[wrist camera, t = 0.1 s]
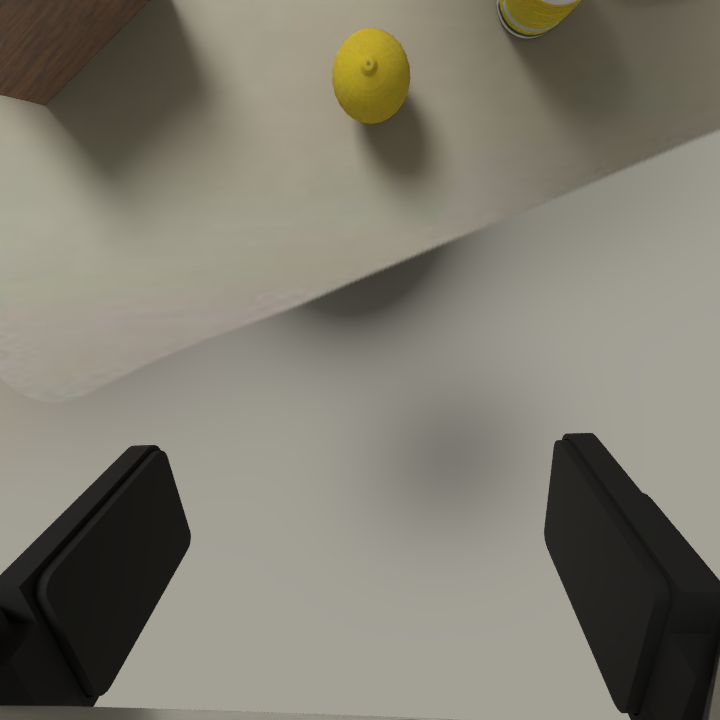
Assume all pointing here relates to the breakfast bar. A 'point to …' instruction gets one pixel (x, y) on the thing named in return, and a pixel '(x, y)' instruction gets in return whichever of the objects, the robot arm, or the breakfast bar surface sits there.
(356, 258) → the breakfast bar surface
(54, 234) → the breakfast bar surface
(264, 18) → the breakfast bar surface
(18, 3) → the tissue box cover
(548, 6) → the supplement bottle
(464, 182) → the breakfast bar surface
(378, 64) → the lemon
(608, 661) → the robot arm
